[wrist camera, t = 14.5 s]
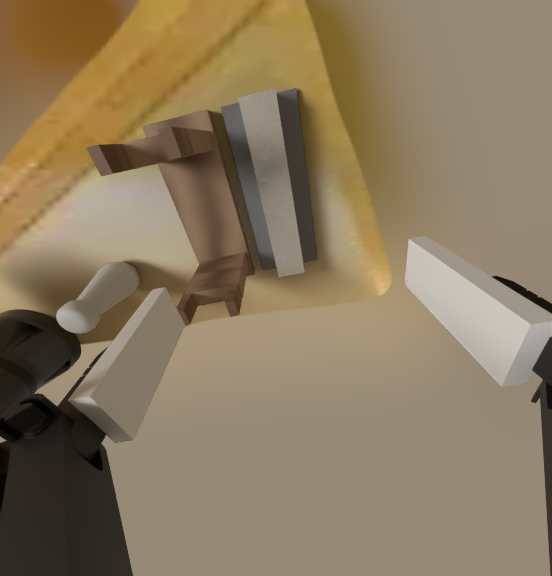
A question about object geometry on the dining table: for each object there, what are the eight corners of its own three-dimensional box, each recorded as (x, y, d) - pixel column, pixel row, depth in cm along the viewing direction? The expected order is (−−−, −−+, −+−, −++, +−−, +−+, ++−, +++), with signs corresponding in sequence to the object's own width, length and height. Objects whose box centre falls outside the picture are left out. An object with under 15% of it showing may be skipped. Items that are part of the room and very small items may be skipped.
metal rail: (277, 267, 40) (278, 277, 37) (241, 102, 28) (237, 97, 25) (301, 262, 39) (304, 272, 36) (274, 93, 28) (275, 88, 25)
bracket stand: (209, 278, 41) (183, 338, 29) (147, 126, 30) (61, 118, 17) (254, 269, 40) (248, 327, 28) (209, 110, 29) (166, 90, 17)
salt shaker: (151, 272, 40) (106, 323, 29) (134, 293, 42) (86, 348, 31) (117, 250, 38) (54, 295, 27) (101, 273, 40) (37, 324, 29)
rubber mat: (263, 268, 40) (263, 269, 40) (221, 107, 29) (220, 107, 28) (316, 257, 40) (317, 259, 39) (295, 88, 28) (296, 88, 28)
